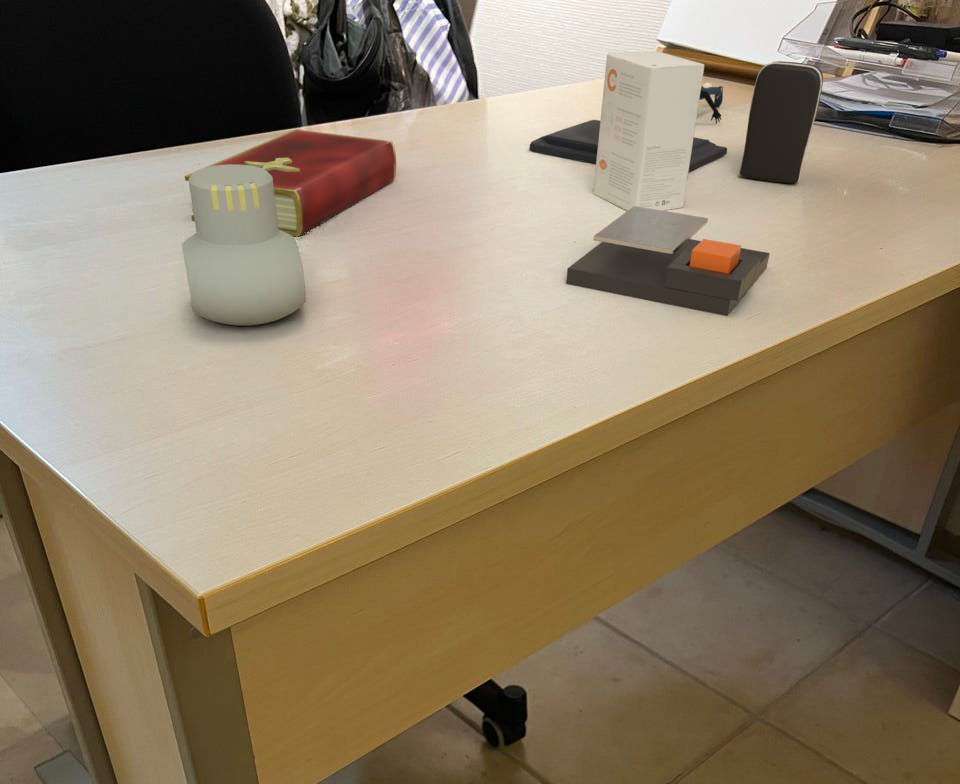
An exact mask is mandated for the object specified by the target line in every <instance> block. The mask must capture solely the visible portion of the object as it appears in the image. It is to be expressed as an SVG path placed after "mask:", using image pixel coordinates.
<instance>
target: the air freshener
mask: <svg viewBox="0 0 960 784" xmlns="http://www.w3.org/2000/svg"><path fill="white" fill-rule="evenodd" d="M209 166H210V165H209ZM205 167H206V168H205ZM205 167H202V168H200V169H197V170H195V171H194V173H193V172H192V173H193V174H192V175H191V177H190V178H189V181H188V187H189V192H190V199H191V205H192V211H193V212H192V213H193V215H194V219H195V221H194V227H195V231H196V233H194V234H193V235H191V236H190V237H188V238H186V239H185V240H184V241H183V242H182V243H181V248H182V253H183V259H184V266H185V271H186V276H187V283H188V289H189V295H190V300H191V306H192V312H193V313H194V314H196V315H197V316H200V317H201V318H204V319H205V320H206V319H207V320H208V321H212V322H215V323H218V324H222V325H228V326H238V327H241V326H242V327H244V326H245V327H250V326H259V325H265V324H269V323H273V322H276V321H279V320H282V319H283V318H285V317H287V316H289V315H291V314H293V313H295V312H296V311H297V310H299V309H300V308H301V307H302V306H303V305H304V304H305V303H306V300H307V290H306V281H305V274H304V266H303V261H302V258H301V253H300V249H299V246H298V243H297V240H296V239H295V236H291V235H290V234H288V233H286V232H284V231H282V230H279V229H278V220H277V212H276V203H275V195H274V186H273V178H272V176H271V175H270V174H269V173H268V172H267V171H266V170H265V169H262V168H259V167H255V166H250V165H217V166H210V167H207V166H205Z"/></svg>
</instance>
